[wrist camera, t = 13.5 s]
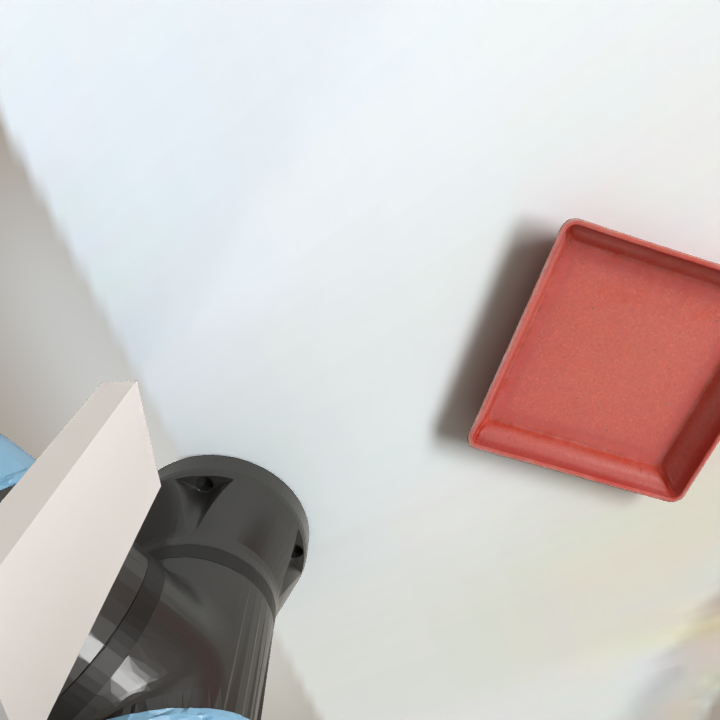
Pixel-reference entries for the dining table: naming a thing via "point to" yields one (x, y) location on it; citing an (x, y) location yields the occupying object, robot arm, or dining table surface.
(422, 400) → the dining table surface
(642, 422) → the plant saucer
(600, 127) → the dining table surface
